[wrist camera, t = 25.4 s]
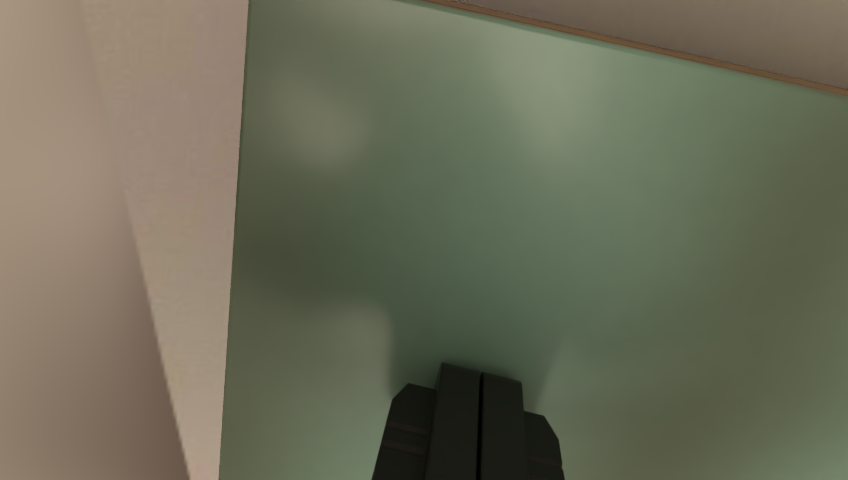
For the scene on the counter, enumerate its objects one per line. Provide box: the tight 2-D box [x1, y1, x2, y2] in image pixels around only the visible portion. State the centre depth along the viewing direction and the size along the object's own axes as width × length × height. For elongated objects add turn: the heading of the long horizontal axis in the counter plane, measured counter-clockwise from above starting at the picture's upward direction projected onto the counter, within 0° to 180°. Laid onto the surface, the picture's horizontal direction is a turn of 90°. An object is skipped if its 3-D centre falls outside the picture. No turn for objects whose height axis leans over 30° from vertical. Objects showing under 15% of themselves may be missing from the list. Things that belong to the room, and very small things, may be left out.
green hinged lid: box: [219, 0, 848, 480], centre depth 11 cm, size 16×14×1 cm
